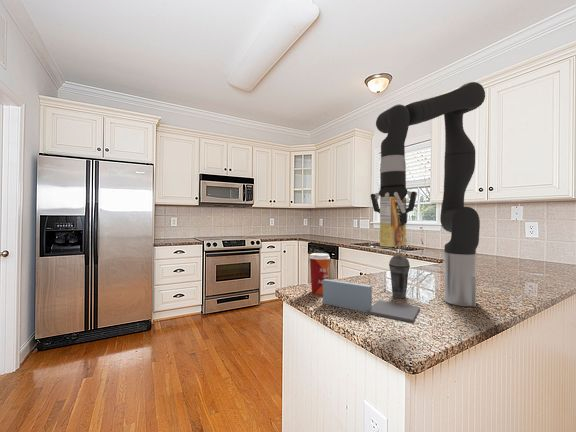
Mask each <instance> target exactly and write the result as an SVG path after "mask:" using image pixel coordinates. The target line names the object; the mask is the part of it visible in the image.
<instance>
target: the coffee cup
mask: <svg viewBox="0 0 576 432" xmlns="http://www.w3.org/2000/svg"><path fill="white" fill-rule="evenodd" d="M308 258H309V265H310V268H309V269H310V283H311V285H310V286H311V293H312V294H313V295H318V296H319V295H320V296H323V280H324V279H329V274H330V273H329V271H330V259H331V257H330V254H329V253H325V252H324V253H322V252H313V253H310V254H309V257H308Z"/></svg>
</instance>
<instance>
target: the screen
mask: <svg viewBox="0 0 576 432" xmlns="http://www.w3.org/2000/svg"><path fill="white" fill-rule="evenodd" d="M372 289H373V287H372V285H370V284H364V283H356V282H349V281H343V280H334V279H329V278H328V279H324V280H323V295H322V304H324V305H328V306H334V307H339V308H344V309H347V310H352V311H359V312H363V313H364V312H365V313H367V310H370V309H372V306H373V305H372V303H373V301H372V300H373V299H372V298H373V297H372V296H373V295H372V293H373V291H372Z"/></svg>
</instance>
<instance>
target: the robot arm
mask: <svg viewBox="0 0 576 432" xmlns="http://www.w3.org/2000/svg"><path fill="white" fill-rule="evenodd" d="M485 99H486V91H485V88H484V86H483V85H482V84H481V83H479V82H477V81H471V82H467V83H464V84H461V85H460V86H458V87H456V88H454V89H453V90H451V91H448V92H446V93H443V94H439V95H435V96H432V97H428V98H424V99H420V100H416V101H411V102H409V103H407V104H406V105H404V104H395V105H393V106H391V107H390V108H387V109H386V110H384V111H383V112H381V113H380V114H379V115H378V116H377V118H376V120H375V126H376V128H377V130H378V131H379V132H380V133H382V134H387V135H386V137H384V139H383V140H382V141H381V143H380V164H379V165H380V166H379V173H380V174H379V177H380V178H379V180H380V182H379V183H380V184H379V186H380V188H379V191H378V192H376V193H371V194H370V200H371V203H372V204H371V205H372V208H373V211H374V212H376V213H378V214H380V204H379V202H378V200H380V197H397V203H398V205H399V207H400V209H401V212H402V214H401V226H404V225H405V224H406V225H407V223H408V213H410V212H413V211H414V208H415V205H416V201H417V195H418V192H416V191H410V190H409V191H408V189H407V178H406V177H407V176H406V175H407V174H406V172H407V170H406V169H407V167H406V166H407V164H406V157H405V155H406V154H405V153H406V152H405V151H406V150H405V149H406V147H405V142H406V139H407V136H408V131H409V126H414V125H418V124H422V123H425V122H428V121H431V120H434V119H436V118H439V117H441V116H443V117H444V119H443V120H444V130H445V132H444V133H445V134H444V135H445V136H444V137H445V138H444V139H445V141H444V142H445V143H444V144H445V146H444V160H443V161H444V166H443V168H444V175H443V196H442V201H441V209H440V218H439V220H440V225H441V227H442V229H443V230H445V231H446V232H448V233H450V234H451V235H450V240H448V242H447V243H445V244H444V247H443V249H444V250H443V251H444V252H443V253H444V256H443V257H444V262H443V263H444V264H443V265H444V266H443V268H444V269H443V270H444V273H443V279H444V280H443V281H444V283H443V284H444V285H443V286H444V287H443V288H444V289H443V290H444V291H443V293H444V294H443V297H444V298H443V299H444V300H443V301H444V302H445V303H448V304H450V305H454V306H459V307H473V308H475V307H477V303H476V302H477V295H476V294H477V278H476V276H477V273H476V271H477V270H476V268H477V267H476V266H477V264H476V262H477V261H476V260H477V256H476V254H477V253H476V252H477V248H478V246H479V243H480V229H481V226H480V224H481V222H480V216H479V213H478V212H477V211H476V210H475V209H474V208H473V207H470V206H465V193H466V190H467V188H468V186H469V184H470V181H471V180H472V177H473V175H474V173H475V169H476V147H475V145H474V142H472V140H471V139H470V137H469V136H468V135H467V134H466V132H465V129H464V121H463V120H464V118H463V117H464V114H466V113H470V112H472V111H474V110H476V109H478V108H480V107H481V106H482V105H483V103H484V102H485ZM406 196H407V197H408V198H409V201H408V206H406V207H405V204H404V201H403V199H404V198H406Z"/></svg>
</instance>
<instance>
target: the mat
mask: <svg viewBox="0 0 576 432" xmlns="http://www.w3.org/2000/svg"><path fill="white" fill-rule="evenodd" d="M420 310H421V309H420V306H417V305H411V304H410V305H409V304H404V303H397V302H393V301H392V302H391V301H387V300H386V301H385V300H380V299H378V300H377V301H376V302H375V303H374V304H373V305H372V309H370V310H367V312H366V313H367V315H368V314H369V315H373V316H378V317H383V318H386V319H387V318H389V319H394V320H398V321H402V322H403V321H404V322H408V323H414V322H415V320H416V318H417V317H418V314H419V312H420Z"/></svg>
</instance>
